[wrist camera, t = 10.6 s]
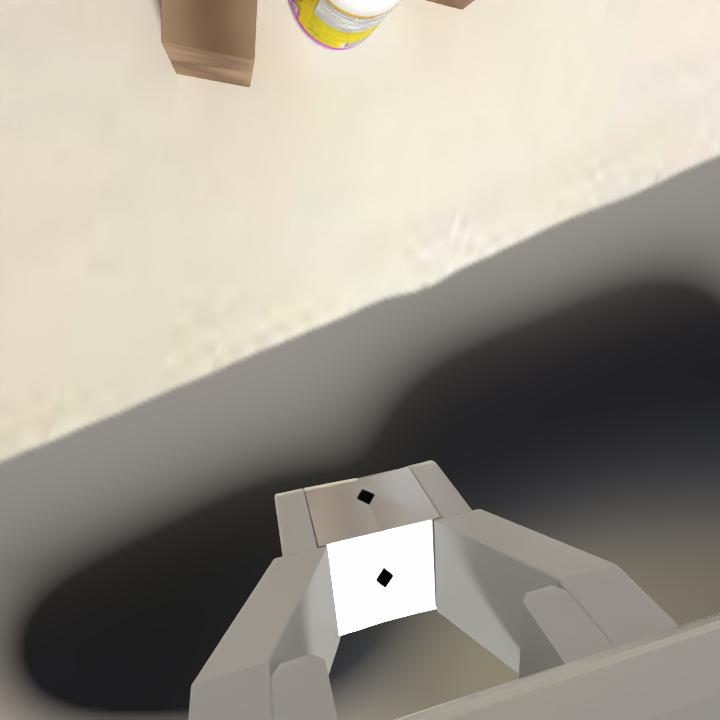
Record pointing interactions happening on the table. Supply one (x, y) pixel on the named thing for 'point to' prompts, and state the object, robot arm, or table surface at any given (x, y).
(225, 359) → the table surface
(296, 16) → the supplement bottle
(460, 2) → the walnut block seven
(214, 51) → the walnut block one
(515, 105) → the table surface
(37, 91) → the table surface
